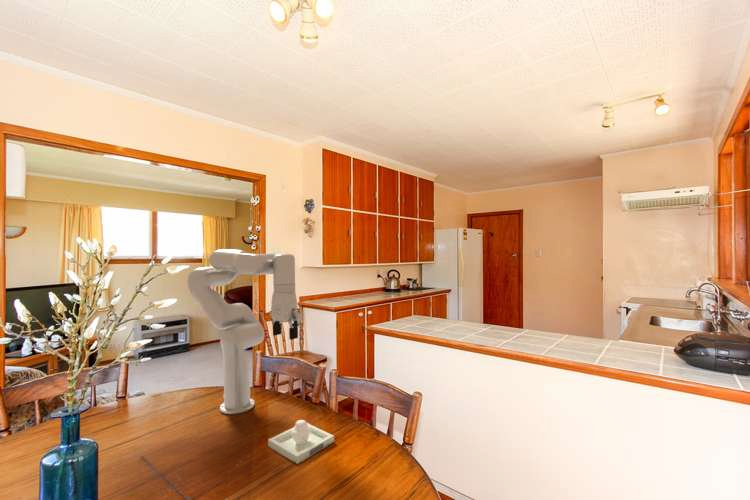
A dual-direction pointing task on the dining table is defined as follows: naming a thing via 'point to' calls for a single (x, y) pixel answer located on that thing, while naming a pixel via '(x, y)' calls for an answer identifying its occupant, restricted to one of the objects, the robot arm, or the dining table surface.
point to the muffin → (301, 432)
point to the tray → (300, 452)
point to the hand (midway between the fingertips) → (285, 336)
